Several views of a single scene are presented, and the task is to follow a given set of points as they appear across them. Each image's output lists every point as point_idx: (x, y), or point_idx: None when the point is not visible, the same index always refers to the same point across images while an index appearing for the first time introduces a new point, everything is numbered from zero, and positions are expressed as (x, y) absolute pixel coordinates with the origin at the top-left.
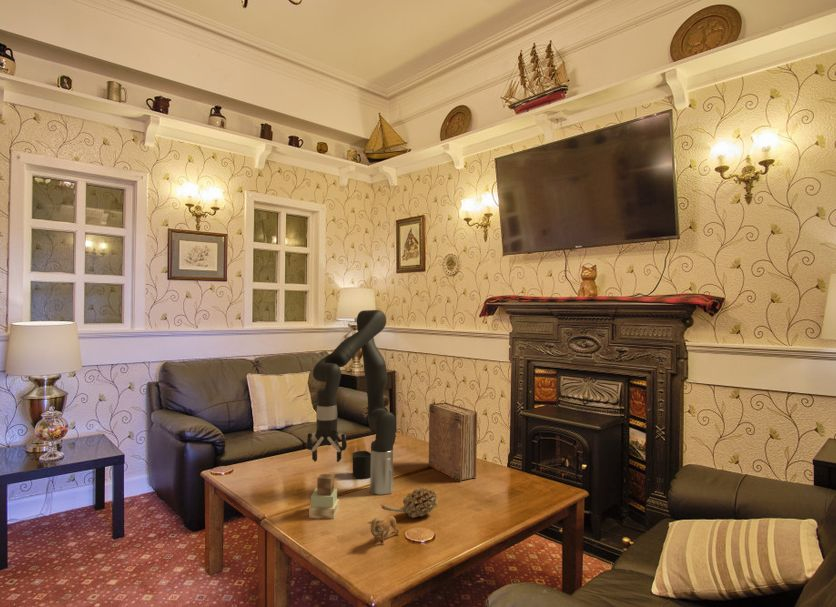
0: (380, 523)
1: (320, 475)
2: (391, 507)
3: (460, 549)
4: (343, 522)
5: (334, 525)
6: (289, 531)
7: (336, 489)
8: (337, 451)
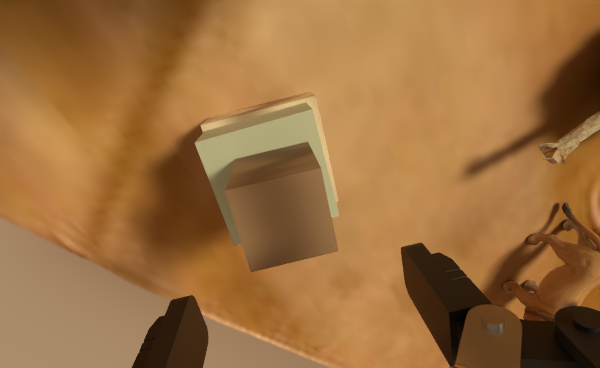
0: None
1: (239, 218)
2: (583, 138)
3: None
4: (375, 200)
5: (354, 230)
6: (235, 311)
7: (314, 121)
8: (452, 345)
